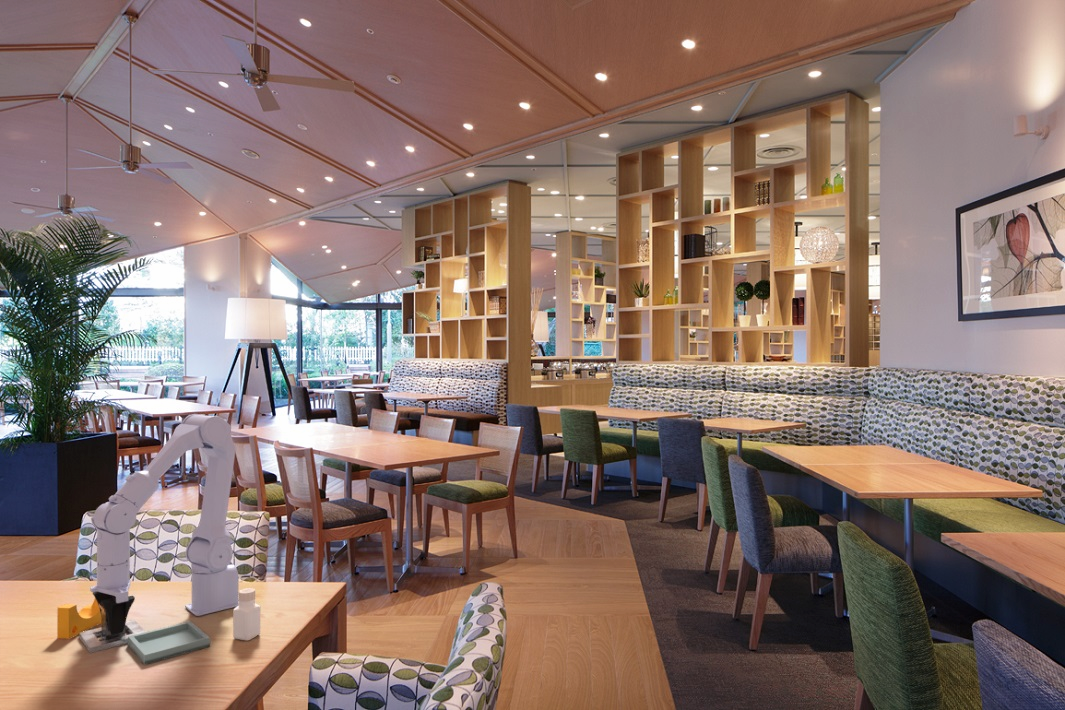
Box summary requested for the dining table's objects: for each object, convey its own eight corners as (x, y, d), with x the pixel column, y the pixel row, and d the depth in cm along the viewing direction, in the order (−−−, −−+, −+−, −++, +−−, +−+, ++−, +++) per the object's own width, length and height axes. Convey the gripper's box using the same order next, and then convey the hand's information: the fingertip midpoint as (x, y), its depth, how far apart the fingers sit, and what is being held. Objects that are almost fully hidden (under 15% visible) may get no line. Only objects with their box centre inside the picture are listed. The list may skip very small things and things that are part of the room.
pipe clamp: (95, 616, 152) (95, 587, 152) (113, 617, 151) (113, 588, 151) (49, 638, 140) (49, 606, 140) (68, 640, 140) (68, 608, 140)
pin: (122, 632, 143) (122, 598, 143) (127, 638, 140) (127, 603, 140) (98, 637, 140) (98, 603, 140) (103, 644, 137) (103, 609, 137)
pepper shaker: (231, 639, 140) (231, 592, 140) (246, 631, 144) (246, 586, 144) (247, 642, 138) (247, 595, 138) (261, 634, 142) (261, 588, 142)
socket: (134, 624, 147) (134, 619, 147) (147, 638, 140) (147, 633, 140) (79, 637, 140) (79, 632, 140) (90, 652, 133) (90, 647, 133)
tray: (190, 629, 145) (190, 621, 145) (209, 646, 136) (209, 637, 136) (128, 645, 137) (128, 636, 137) (144, 664, 128) (144, 655, 128)
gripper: (82, 558, 143) (82, 623, 143) (99, 574, 132) (98, 645, 132) (121, 551, 148) (121, 614, 148) (140, 566, 137) (139, 634, 137)
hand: (113, 628), depth 140 cm, fingers open, 5 cm apart
